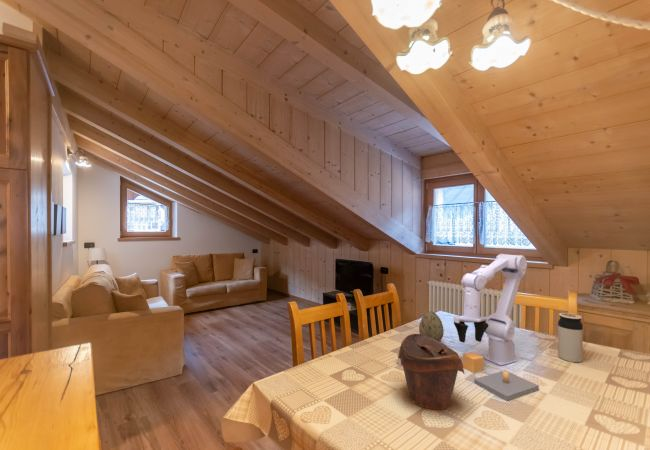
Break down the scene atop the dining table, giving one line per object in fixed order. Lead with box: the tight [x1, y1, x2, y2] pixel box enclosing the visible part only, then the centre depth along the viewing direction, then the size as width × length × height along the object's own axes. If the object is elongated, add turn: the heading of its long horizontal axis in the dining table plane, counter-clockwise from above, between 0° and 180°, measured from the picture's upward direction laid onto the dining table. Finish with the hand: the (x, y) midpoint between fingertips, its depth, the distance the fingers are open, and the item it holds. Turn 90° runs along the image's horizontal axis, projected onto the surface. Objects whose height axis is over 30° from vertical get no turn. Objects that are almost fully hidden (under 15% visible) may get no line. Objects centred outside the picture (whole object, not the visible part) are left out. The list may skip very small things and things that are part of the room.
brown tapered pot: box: [397, 333, 465, 411], centre depth 98 cm, size 18×20×18 cm
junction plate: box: [473, 369, 540, 402], centre depth 106 cm, size 16×12×5 cm
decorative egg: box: [418, 310, 445, 342], centre depth 144 cm, size 11×11×15 cm
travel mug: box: [557, 312, 584, 363], centre depth 129 cm, size 8×8×18 cm
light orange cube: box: [462, 351, 484, 374], centre depth 119 cm, size 5×5×5 cm
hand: (470, 341), depth 118 cm, fingers open, 7 cm apart
